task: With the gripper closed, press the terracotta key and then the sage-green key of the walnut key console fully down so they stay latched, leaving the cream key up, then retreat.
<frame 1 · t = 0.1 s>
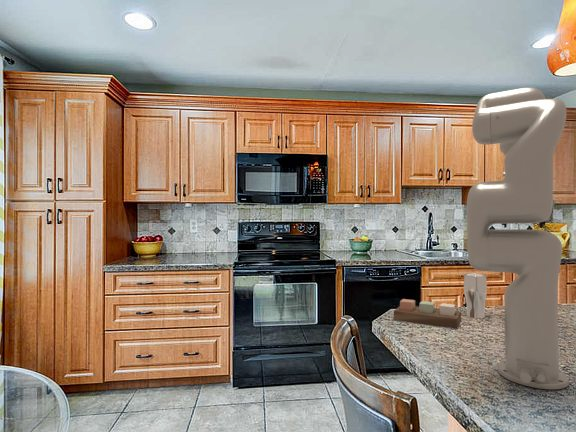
hand: (522, 227, 115), 31 cm above the countertop, tool pointing down, fingers open, 9 cm apart
console: (427, 323, 116), on the countertop
key terracotta: (407, 305, 119), point 5 cm above the countertop, slide at 0.0 cm
key cream: (447, 310, 113), point 5 cm above the countertop, slide at 0.0 cm
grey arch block: (475, 319, 121), on the countertop
key sage: (427, 307, 116), point 5 cm above the countertop, slide at 0.0 cm
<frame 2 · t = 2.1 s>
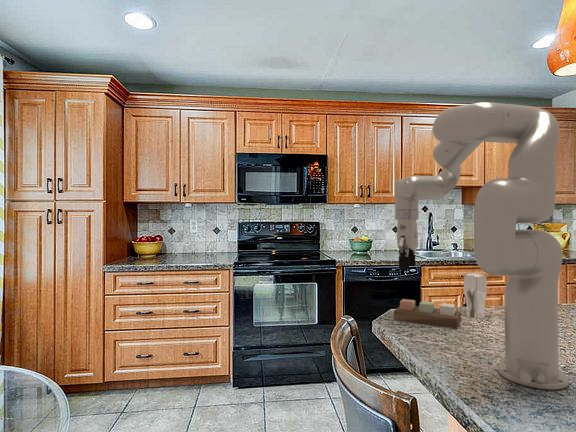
hand: (407, 267, 120), 18 cm above the countertop, tool pointing down, fingers open, 7 cm apart
nothing on the countertop moved.
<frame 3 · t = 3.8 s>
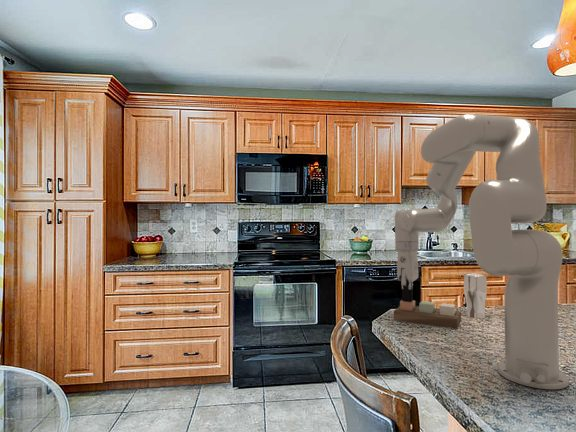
hand: (407, 300, 120), 7 cm above the countertop, tool pointing down, fingers closed
key terracotta: (407, 305, 119), point 5 cm above the countertop, slide at 0.1 cm, touching gripper
everything else where it was.
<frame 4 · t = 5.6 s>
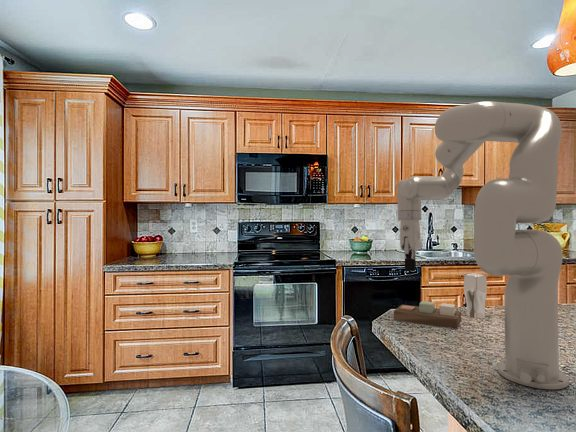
hand: (410, 270, 119), 17 cm above the countertop, tool pointing down, fingers closed
key terracotta: (407, 312, 119), point 3 cm above the countertop, slide at 2.2 cm
everything else where it was.
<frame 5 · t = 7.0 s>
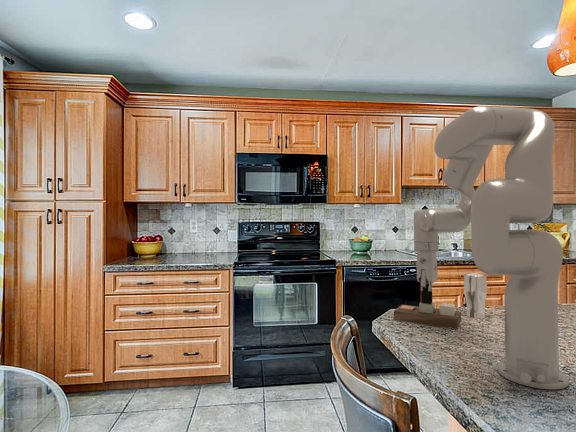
hand: (426, 302, 116), 7 cm above the countertop, tool pointing down, fingers closed
key sage: (427, 308, 116), point 5 cm above the countertop, slide at 0.1 cm, touching gripper
everything else where it was.
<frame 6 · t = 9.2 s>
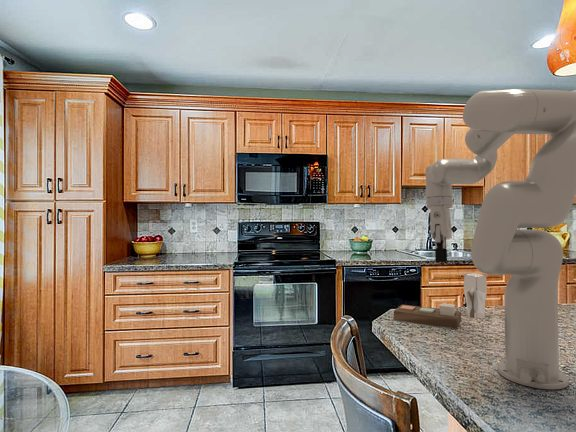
hand: (441, 261, 111), 21 cm above the countertop, tool pointing down, fingers closed
key sage: (427, 314, 116), point 3 cm above the countertop, slide at 2.2 cm
everything else where it was.
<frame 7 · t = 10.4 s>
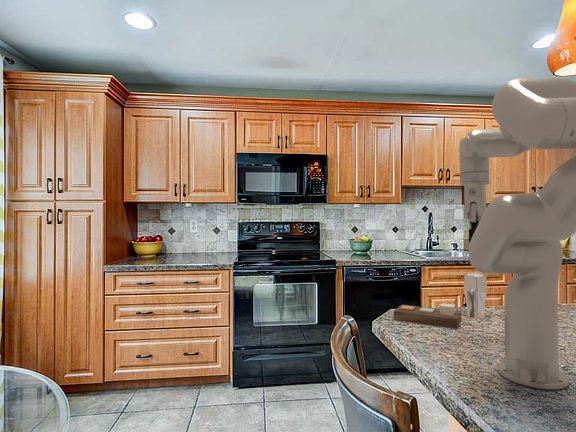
hand: (475, 243, 102), 27 cm above the countertop, tool pointing down, fingers closed
nothing on the countertop moved.
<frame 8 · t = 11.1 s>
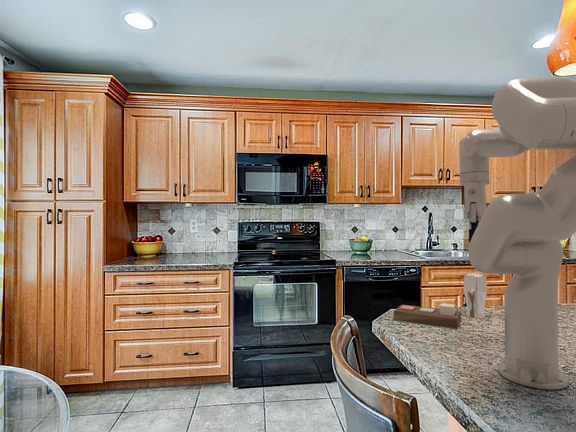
hand: (475, 243, 102), 27 cm above the countertop, tool pointing down, fingers closed
nothing on the countertop moved.
at the end: key terracotta slide at 2.2 cm; key sage slide at 2.2 cm; key cream slide at 0.0 cm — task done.
